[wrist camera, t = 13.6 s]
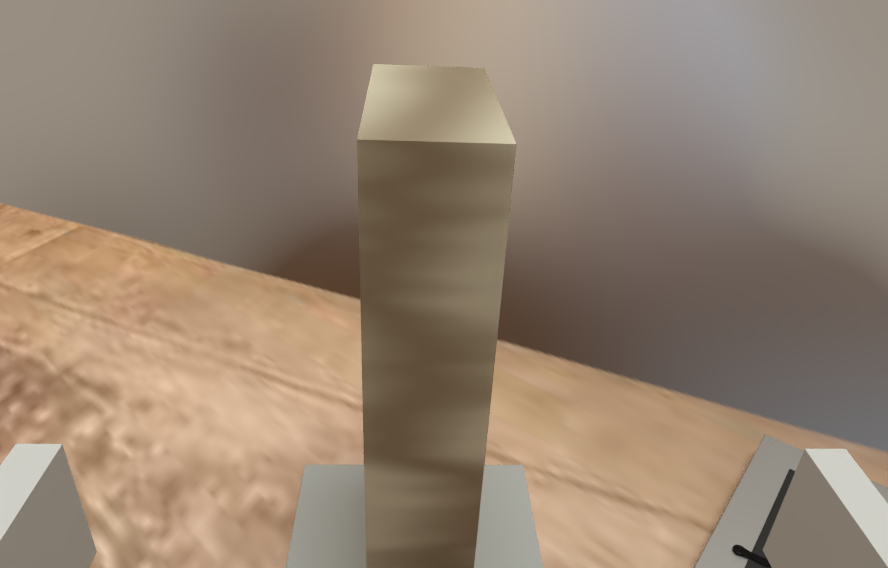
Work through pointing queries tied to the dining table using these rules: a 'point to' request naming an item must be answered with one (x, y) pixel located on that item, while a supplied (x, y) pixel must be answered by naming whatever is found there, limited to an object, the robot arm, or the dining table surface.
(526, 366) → the dining table surface
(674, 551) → the dining table surface
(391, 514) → the tall grained pillar
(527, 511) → the rubber pad
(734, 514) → the picture frame
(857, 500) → the robot arm
